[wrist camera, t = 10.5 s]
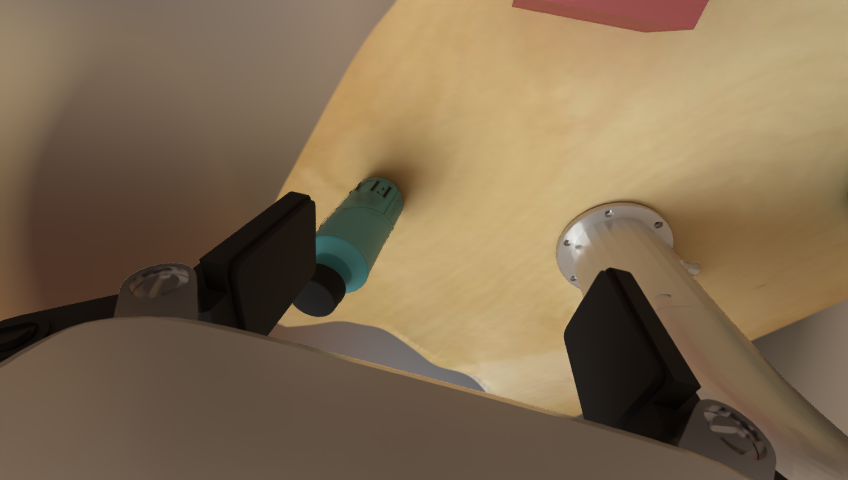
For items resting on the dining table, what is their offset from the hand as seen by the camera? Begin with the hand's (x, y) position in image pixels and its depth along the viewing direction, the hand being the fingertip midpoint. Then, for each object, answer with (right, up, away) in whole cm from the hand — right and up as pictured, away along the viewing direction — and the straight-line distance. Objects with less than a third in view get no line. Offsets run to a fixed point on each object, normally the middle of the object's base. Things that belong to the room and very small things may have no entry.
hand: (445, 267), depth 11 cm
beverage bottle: (-6, +7, +31) cm, 32 cm away
